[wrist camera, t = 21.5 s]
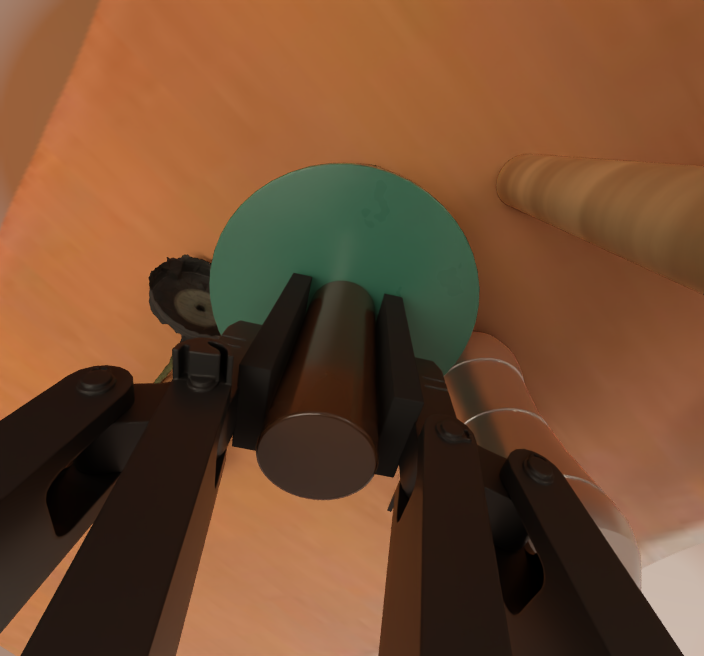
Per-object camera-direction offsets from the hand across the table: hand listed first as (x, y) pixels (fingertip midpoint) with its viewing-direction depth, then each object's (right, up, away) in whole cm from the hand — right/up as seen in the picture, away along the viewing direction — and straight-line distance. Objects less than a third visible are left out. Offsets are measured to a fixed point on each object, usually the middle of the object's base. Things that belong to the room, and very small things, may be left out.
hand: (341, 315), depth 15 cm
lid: (0, 0, +1) cm, 1 cm away
